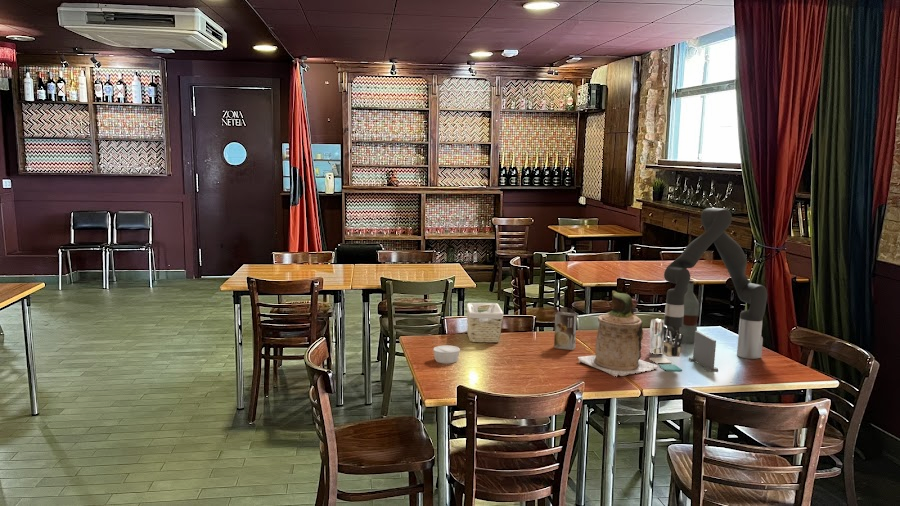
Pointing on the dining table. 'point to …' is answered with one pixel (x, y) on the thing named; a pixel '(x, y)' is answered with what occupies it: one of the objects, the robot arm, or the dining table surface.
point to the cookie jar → (619, 340)
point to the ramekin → (446, 354)
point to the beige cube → (669, 349)
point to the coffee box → (565, 330)
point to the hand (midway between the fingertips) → (671, 353)
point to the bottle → (689, 315)
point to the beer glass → (657, 336)
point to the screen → (704, 351)
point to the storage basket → (484, 322)
